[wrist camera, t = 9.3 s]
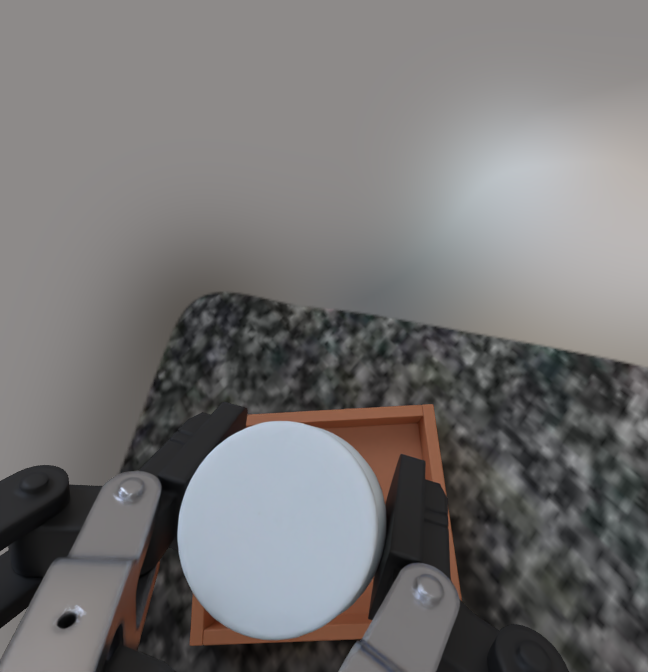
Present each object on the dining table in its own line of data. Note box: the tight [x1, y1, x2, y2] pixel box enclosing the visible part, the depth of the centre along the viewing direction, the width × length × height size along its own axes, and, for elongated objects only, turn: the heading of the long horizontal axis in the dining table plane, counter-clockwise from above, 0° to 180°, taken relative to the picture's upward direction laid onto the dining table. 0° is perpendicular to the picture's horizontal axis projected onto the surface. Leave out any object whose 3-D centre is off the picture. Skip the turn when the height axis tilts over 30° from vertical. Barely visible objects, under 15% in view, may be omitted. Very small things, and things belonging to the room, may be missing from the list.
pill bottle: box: [177, 421, 387, 640], centre depth 12 cm, size 5×5×8 cm
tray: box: [190, 404, 462, 646], centre depth 22 cm, size 12×10×2 cm
